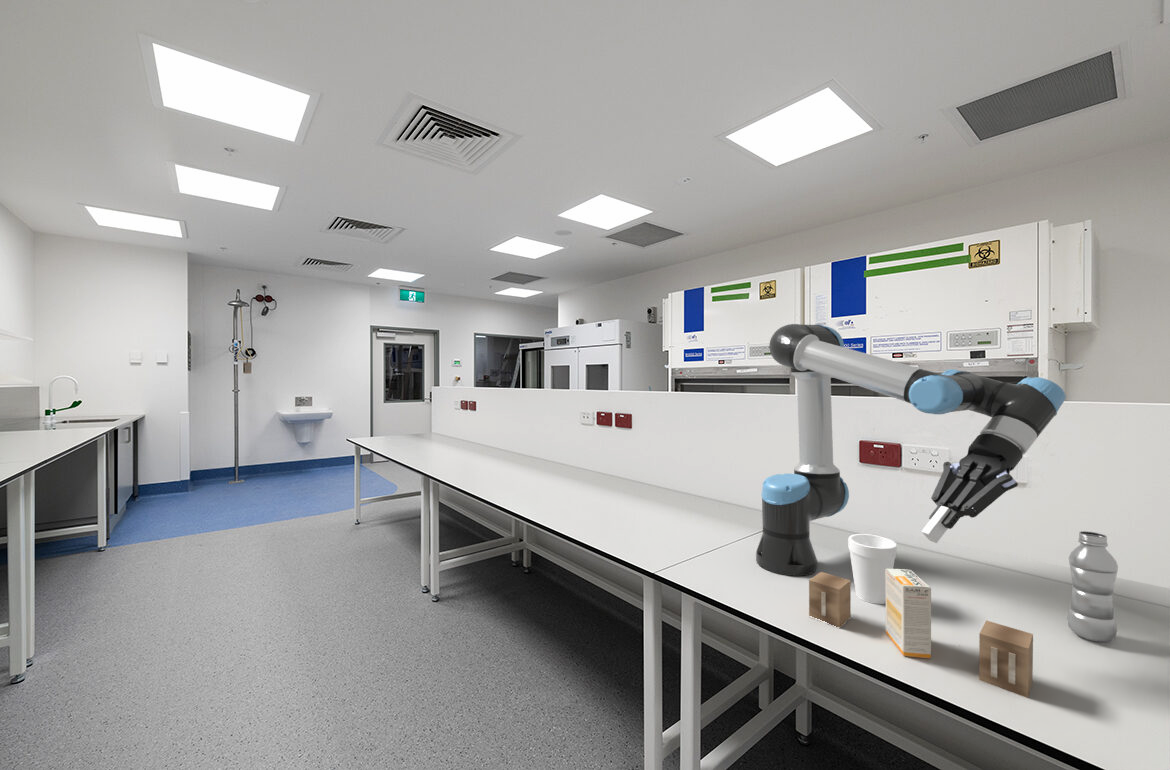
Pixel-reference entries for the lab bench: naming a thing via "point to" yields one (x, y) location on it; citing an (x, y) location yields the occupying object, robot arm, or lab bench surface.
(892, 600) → the supplement box
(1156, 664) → the lab bench surface
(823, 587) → the walnut block one
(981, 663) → the walnut block two
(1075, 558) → the plastic bottle
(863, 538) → the foam cup
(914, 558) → the lab bench surface
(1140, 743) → the lab bench surface
